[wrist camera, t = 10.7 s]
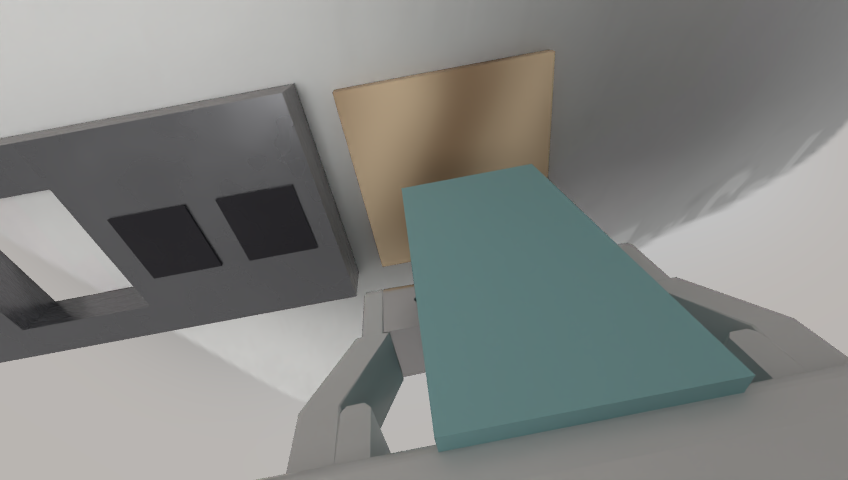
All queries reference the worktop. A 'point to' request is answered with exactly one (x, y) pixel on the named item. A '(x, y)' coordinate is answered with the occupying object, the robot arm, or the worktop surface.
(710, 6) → the worktop surface
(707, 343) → the upright teal block
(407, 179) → the pad
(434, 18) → the worktop surface
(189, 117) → the grey slotted board
